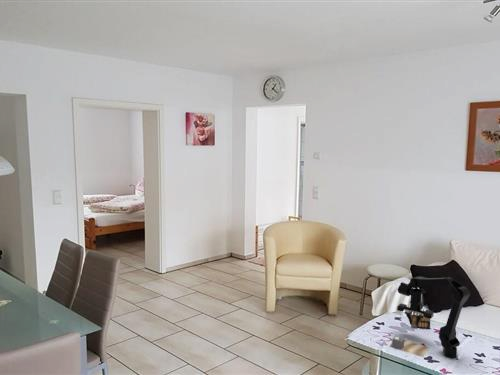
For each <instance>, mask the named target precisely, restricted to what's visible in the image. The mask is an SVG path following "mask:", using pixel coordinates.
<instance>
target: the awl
mask: <svg viewBox="0 0 500 375" xmlns="http://www.w3.org/2000/svg"><path fill="white" fill-rule="evenodd" d="M416 324H417V315H416V314H415V315H413V314H412V322H411V325H410V327H411V329H418V328H417V325H416Z"/></svg>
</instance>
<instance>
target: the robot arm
mask: <svg viewBox="0 0 500 375" xmlns="http://www.w3.org/2000/svg"><path fill="white" fill-rule="evenodd" d="M426 286H427V287H429V286H432V287H434V286H438V287H439V286H444V287H446V289H447V290H448V291H449V293H451V294H452V295H451V298H452V299H451V300H452V305H451V308H450V312H449V314H448V318H447V320H446V323H445V325H444V326H441V327H439V328H440V329H439V332H438V333H437V334H438V339H439V341H440V344H441V347H442V354H443V356H444V357H447V358H449V359H455V361H459V358H458V357H457V356H458V355H457V354H458V352H457V351H458V348H457V347H459V346H460V345H461V342H460V341H459V339H458V338H457V329H456V328H457V324H458V321H459V318H460V316H461V311H462V310H463V306H464V304H465V303H466V302H467V301H468V299H469V297H470V295H471V291H470V289H469V288H468V287H466V286H464V285H463V284H462V283H460V282H458V281H456V280H455V279H454V278H452V277H450V276H447V277H431V278H429V277H425V276H416V277H415V276H414V277H412V278H410V281H409V282H408V283H405V282H403V281H402V282H400V284H399V286H398V288H397V292H398V294H400V295H402V296H405V297H406V296H407V297H410V300H409V306H408V304H404V303H400V304H398V305H396V306H397V307H396V310H397V311H398V312H404V314H405V315H406V317H407V319H408V321H409V324H410V326H411V322H412V315H413V312H415V314H416V313H418V316H417V324H416V325H417V326H418V324H419V322H420V320H421V319H422V318H429V319H430V320H431V319H432V318H434V315H435V314H434V311H433V310H431V309H425V310H424V311H423V309H424V303H423V302H422V298H423V297H422V294H425V293H427V291H426V290H424V287H426Z"/></svg>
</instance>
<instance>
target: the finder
mask: <svg viewBox="0 0 500 375" xmlns="http://www.w3.org/2000/svg"><path fill="white" fill-rule="evenodd" d="M404 340H405V338H404V337H399V336H396V335H395V336H394V337H392V340H391V344H392V347H394V348H393V349H395V348H397V349H396V350H398V349H400V350H399V351H402V350H401V349H402V348H403V347H404ZM392 347H391V348H392Z"/></svg>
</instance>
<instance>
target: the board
mask: <svg viewBox="0 0 500 375" xmlns="http://www.w3.org/2000/svg"><path fill="white" fill-rule="evenodd" d="M388 347H389V348H392V349H396V350H399V351H401V352H402V351H403V352H406V353H408V354H411V355H415V356H417V357H421V358H424V357H425V355H426V354H427V352H429V350H430V349H431V347H429V346H426V345H423V344H420V343H416V342H413V341H410V340H405V339H404V347H403V348H402V349H401V350H400V349H397V348H394V347H392V343H391V344H390V345H388Z"/></svg>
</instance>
